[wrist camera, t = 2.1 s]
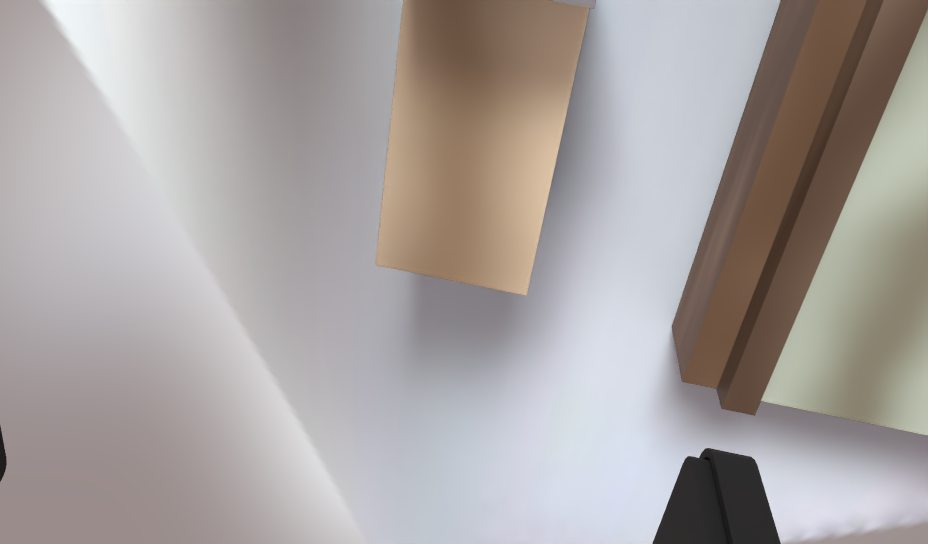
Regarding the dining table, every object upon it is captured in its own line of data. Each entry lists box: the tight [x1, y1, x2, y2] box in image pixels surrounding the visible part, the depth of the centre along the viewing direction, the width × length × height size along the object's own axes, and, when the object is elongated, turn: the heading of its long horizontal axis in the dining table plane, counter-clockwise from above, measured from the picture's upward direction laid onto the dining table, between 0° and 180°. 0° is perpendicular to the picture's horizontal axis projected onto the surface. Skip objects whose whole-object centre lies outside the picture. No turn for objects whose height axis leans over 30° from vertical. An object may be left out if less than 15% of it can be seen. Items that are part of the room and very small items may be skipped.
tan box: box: [376, 0, 596, 296], centre depth 24 cm, size 5×10×10 cm, turn 171°
